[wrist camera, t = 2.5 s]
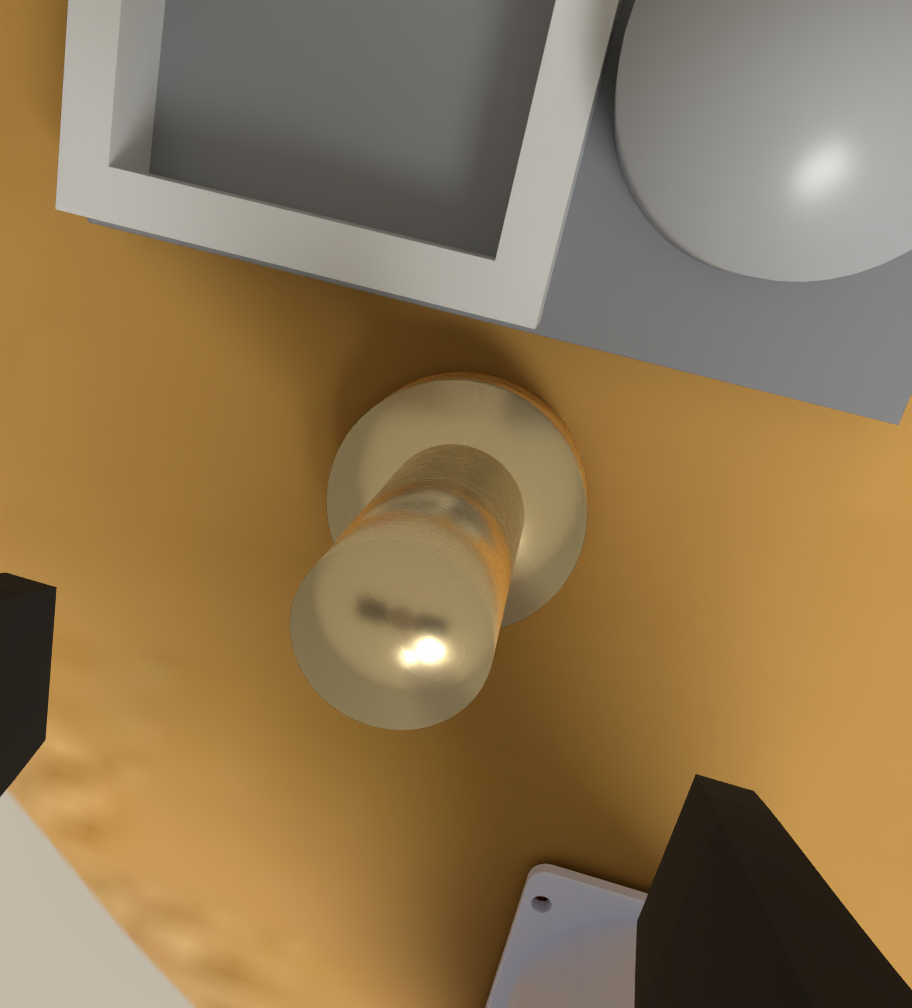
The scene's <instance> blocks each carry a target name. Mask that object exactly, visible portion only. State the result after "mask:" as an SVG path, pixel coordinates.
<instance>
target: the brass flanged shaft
mask: <svg viewBox="0 0 912 1008" xmlns="http://www.w3.org/2000/svg"><path fill="white" fill-rule="evenodd" d="M327 516H328V523H329V529H330V532H331V536H332V539H333V543H334V544H333V545H332V546H331V547H330V548H329V550H328V551H327V552H326V553H325V554H324V555H323V556H322V558H321V559H320V560H319V561H318V562H317V563H316V564H315V566H314V567H313V568H312V569H311V570H310V572H309V573H308V574H307V575H306V576H305V578H304V579H303V581H302V583H301V584H300V586H299V588H298V590H297V593H296V595H295V597H294V601H293V604H292V608H291V615H290V637H291V643H292V648H293V651H294V654H295V658H296V660H297V662H298V665H299V667H300V669H301V671H302V673H303V674H304V676H305V677H306V679H307V681H308V682H309V683H310V685H311V686H312V687H313V688H314V690H315V691H316V692H317V693H318V694H319V695H320V696H321V697H322V698H323V699H324V700H325V701H326V702H327V703H329V704H330V705H331V706H332V707H334V708H335V709H337V710H338V711H340V712H341V713H343V714H344V715H346V716H348V717H350V718H352V719H354V720H356V721H359V722H361V723H364V724H367V725H370V726H374V727H378V728H382V729H391V730H413V729H421V728H425V727H429V726H433V725H436V724H438V723H441V722H443V721H445V720H447V719H449V718H451V717H453V716H455V715H456V714H457V713H459V712H460V711H461V710H463V709H464V708H465V707H466V706H467V705H468V704H469V703H470V702H471V701H472V700H473V699H474V698H475V697H476V696H477V694H478V693H479V692H480V690H481V689H482V687H483V685H484V683H485V681H486V679H487V677H488V674H489V672H490V669H491V665H492V661H493V657H494V652H495V648H496V644H497V639H498V635H499V631H500V628H502V627H506V626H508V625H510V624H513V623H515V622H518V621H520V620H522V619H524V618H525V617H527V616H529V615H531V614H532V613H534V612H535V611H537V610H538V609H539V608H541V607H542V606H543V605H545V604H546V603H547V602H548V601H549V600H550V599H551V598H552V597H553V596H554V595H555V594H556V593H557V592H558V591H559V590H560V588H561V587H562V586H563V584H564V583H565V582H566V580H567V579H568V578H569V576H570V574H571V572H572V570H573V569H574V567H575V565H576V563H577V560H578V558H579V555H580V553H581V550H582V547H583V542H584V538H585V534H586V524H587V482H586V475H585V470H584V465H583V462H582V459H581V456H580V453H579V450H578V447H577V445H576V443H575V441H574V439H573V437H572V435H571V434H570V432H569V431H568V429H567V428H566V426H565V425H564V423H563V422H562V420H561V419H560V418H559V417H558V416H557V415H556V414H555V412H554V411H553V410H552V409H551V408H550V407H549V406H548V405H546V404H545V403H544V402H543V401H542V400H541V399H539V398H538V397H537V396H535V395H534V394H532V393H531V392H529V391H528V390H526V389H525V388H523V387H521V386H519V385H517V384H515V383H512V382H510V381H508V380H505V379H502V378H499V377H496V376H493V375H488V374H482V373H477V372H461V371H460V372H447V373H440V374H436V375H431V376H427V377H424V378H421V379H419V380H416V381H413V382H411V383H409V384H407V385H405V386H403V387H402V388H400V389H398V390H397V391H395V392H394V393H392V394H391V395H390V396H388V397H387V398H385V399H384V400H383V401H381V402H380V403H379V404H377V405H376V406H374V407H373V408H372V409H370V410H369V411H368V412H367V413H366V414H365V415H364V416H363V417H362V418H361V419H360V420H358V421H357V423H356V424H355V425H354V426H353V428H352V429H351V430H350V431H349V433H348V434H347V436H346V437H345V439H344V441H343V442H342V444H341V446H340V447H339V449H338V452H337V454H336V457H335V459H334V461H333V464H332V468H331V472H330V475H329V480H328V488H327Z"/></svg>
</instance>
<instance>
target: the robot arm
mask: <svg viewBox="0 0 912 1008" xmlns="http://www.w3.org/2000/svg"><path fill="white" fill-rule="evenodd" d="M56 588H57V587H53V586H50V585H46V584H43V583H40V582H36V581H33V580H29V579H26V578H23V577H19V576H16V575H12V574H9V573H0V796H1V795H2V794H3V793H4V792H5V790H6V789H7V788H8V787H9V786H10V784H11V783H12V782H13V781H14V780H15V778H16V777H17V776H18V774H19V773H20V772H21V771H22V769H23V768H24V767H25V765H26V764H27V763H28V762H29V760H30V759H31V758H32V756H33V755H34V754H35V753H36V751H37V750H38V749H39V747H40V746H41V745H42V744H43V742H44V741H45V738H46V724H47V711H48V697H49V683H50V670H51V656H52V642H53V629H54V615H55V601H56ZM537 896H544V897H546V898H548V899H549V900H547V901H539V900H537V899H536V898H535V897H537ZM485 1008H912V990H911V988H910V987H909V986H908V985H907V984H906V982H905V981H904V980H903V979H902V978H901V976H900V975H899V974H898V973H897V971H896V970H895V969H894V968H893V967H892V965H891V964H890V963H889V962H888V960H887V959H886V958H885V957H884V955H883V954H882V953H881V952H880V950H879V949H878V948H877V947H876V945H875V944H874V943H873V942H872V940H871V939H870V938H869V937H868V935H867V934H866V933H865V932H864V930H863V929H862V928H861V927H860V925H859V924H858V923H857V921H856V920H855V919H854V918H853V916H852V915H851V914H850V913H849V911H848V910H847V909H846V907H845V906H844V905H843V904H842V902H841V901H840V900H839V898H838V897H837V896H836V895H835V893H834V892H833V891H832V889H831V888H830V887H829V885H828V884H827V883H826V882H825V880H824V879H823V878H822V876H821V875H820V874H819V872H818V871H817V870H816V869H815V867H814V866H813V865H812V863H811V862H810V861H809V859H808V858H807V857H806V856H805V854H804V853H803V852H802V850H801V849H800V848H799V846H798V845H797V844H796V843H795V841H794V840H793V839H792V837H791V836H790V835H789V833H788V832H787V831H786V830H785V828H784V827H783V826H782V824H781V823H780V822H779V821H778V819H777V818H776V817H775V816H774V814H773V813H772V812H771V811H770V809H769V808H768V807H767V806H766V805H765V803H764V802H763V801H762V800H761V799H760V798H759V796H758V795H757V794H756V793H755V792H754V791H752V790H748V789H745V788H741V787H738V786H735V785H731V784H728V783H724V782H721V781H717V780H714V779H711V778H707V777H704V776H700V775H697V774H696V775H695V778H694V780H693V783H692V785H691V788H690V790H689V793H688V795H687V798H686V800H685V803H684V805H683V808H682V810H681V813H680V815H679V818H678V820H677V823H676V825H675V828H674V830H673V833H672V835H671V838H670V840H669V843H668V845H667V848H666V850H665V853H664V855H663V858H662V860H661V863H660V865H659V868H658V870H657V873H656V875H655V878H654V880H653V883H652V885H651V888H650V890H649V893H644V892H641V891H638V890H634V889H631V888H628V887H624V886H621V885H618V884H615V883H611V882H608V881H605V880H601V879H598V878H595V877H591V876H588V875H585V874H581V873H578V872H575V871H572V870H568V869H565V868H562V867H558V866H555V865H551V864H540V865H536V866H535V867H533V868H532V869H531V870H530V872H529V874H528V877H527V880H526V883H525V886H524V889H523V892H522V895H521V898H520V901H519V904H518V907H517V911H516V914H515V917H514V920H513V923H512V926H511V929H510V932H509V935H508V938H507V942H506V945H505V948H504V951H503V954H502V957H501V960H500V963H499V966H498V969H497V973H496V976H495V979H494V982H493V985H492V988H491V991H490V994H489V997H488V1000H487V1003H486V1007H485Z"/></svg>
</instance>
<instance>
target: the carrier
mask: <svg viewBox="0 0 912 1008" xmlns="http://www.w3.org/2000/svg"><path fill="white" fill-rule="evenodd" d="M56 210H60V211H64V212H68V213H72V214H76V215H80V216H84V217H88V222H90V223H94V224H98V225H102V226H106V227H110V228H114V229H118V230H122V231H126V232H130V233H134V234H138V235H142V236H146V237H150V238H154V239H158V240H162V241H166V242H170V243H174V244H178V245H182V246H186V247H190V248H194V249H198V250H202V251H205V252H209V253H213V254H217V255H221V256H225V257H229V258H233V259H237V260H241V261H245V262H249V263H253V264H257V265H261V266H265V267H269V268H273V269H277V270H281V271H285V272H289V273H293V274H297V275H301V276H305V277H309V278H313V279H317V280H321V281H325V282H329V283H333V284H337V285H341V286H345V287H349V288H353V289H357V290H361V291H365V292H369V293H373V294H377V295H381V296H385V297H389V298H393V299H397V300H401V301H405V302H409V303H413V304H417V305H421V306H425V307H429V308H433V309H437V310H441V311H445V312H449V313H453V314H457V315H461V316H465V317H469V318H473V319H477V320H481V321H485V322H489V323H493V324H497V325H501V326H505V327H509V328H513V329H517V330H521V331H525V332H529V333H533V334H537V335H541V336H545V337H549V338H553V339H557V340H561V341H565V342H569V343H573V344H577V345H581V346H585V347H589V348H593V349H597V350H601V351H605V352H609V353H613V354H617V355H621V356H624V357H628V358H632V359H636V360H640V361H644V362H648V363H652V364H656V365H660V366H664V367H668V368H672V369H676V370H680V371H684V372H688V373H692V374H696V375H700V376H704V377H708V378H712V379H716V380H720V381H724V382H728V383H732V384H736V385H740V386H744V387H748V388H752V389H756V390H760V391H764V392H768V393H772V394H776V395H780V396H784V397H788V398H792V399H796V400H800V401H804V402H808V403H812V404H816V405H820V406H824V407H828V408H832V409H836V410H840V411H844V412H848V413H852V414H856V415H860V416H864V417H868V418H872V419H876V420H880V421H884V422H888V423H892V424H896V425H899V422H900V420H901V418H902V415H903V413H904V410H905V408H906V406H907V403H908V401H909V398H910V396H911V394H912V0H68V14H67V30H66V46H65V63H64V79H63V95H62V112H61V128H60V145H59V161H58V177H57V194H56Z"/></svg>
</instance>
